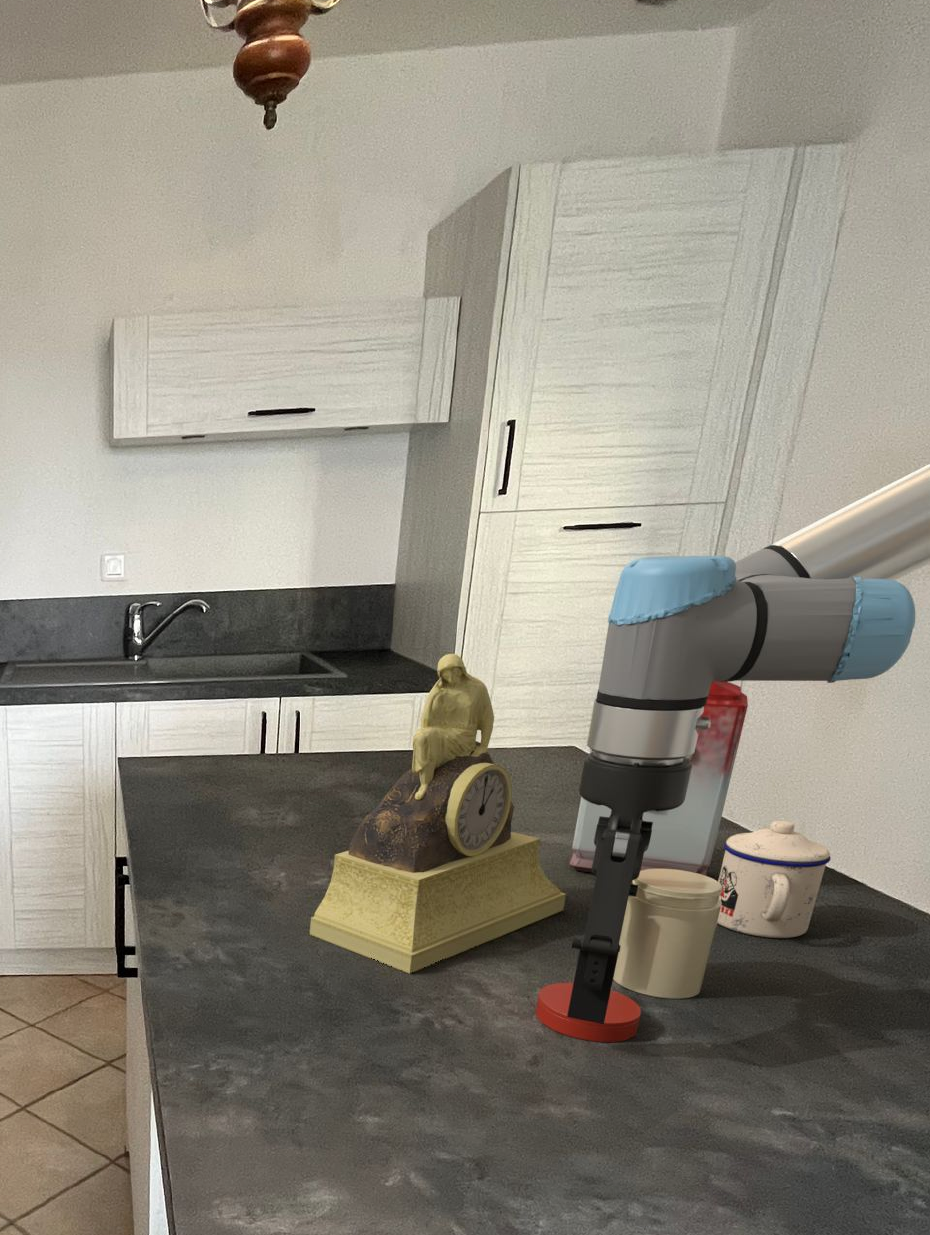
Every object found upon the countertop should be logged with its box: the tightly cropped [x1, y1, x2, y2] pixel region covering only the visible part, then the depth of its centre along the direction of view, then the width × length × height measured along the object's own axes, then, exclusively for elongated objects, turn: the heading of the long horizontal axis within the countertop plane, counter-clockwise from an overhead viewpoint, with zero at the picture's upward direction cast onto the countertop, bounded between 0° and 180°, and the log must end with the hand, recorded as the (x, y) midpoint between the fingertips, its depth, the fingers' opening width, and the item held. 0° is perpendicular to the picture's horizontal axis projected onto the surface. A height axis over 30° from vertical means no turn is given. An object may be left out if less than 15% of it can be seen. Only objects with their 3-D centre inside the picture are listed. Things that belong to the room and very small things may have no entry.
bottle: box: [568, 681, 749, 876], centre depth 119 cm, size 14×10×30 cm
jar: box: [613, 869, 722, 1000], centre depth 94 cm, size 7×7×11 cm
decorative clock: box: [309, 653, 567, 975], centre depth 106 cm, size 28×13×30 cm, turn 123°
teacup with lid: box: [717, 820, 831, 939], centre depth 104 cm, size 12×9×12 cm
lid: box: [535, 982, 642, 1043], centre depth 89 cm, size 8×8×2 cm
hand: (592, 988), depth 88 cm, fingers open, 13 cm apart
